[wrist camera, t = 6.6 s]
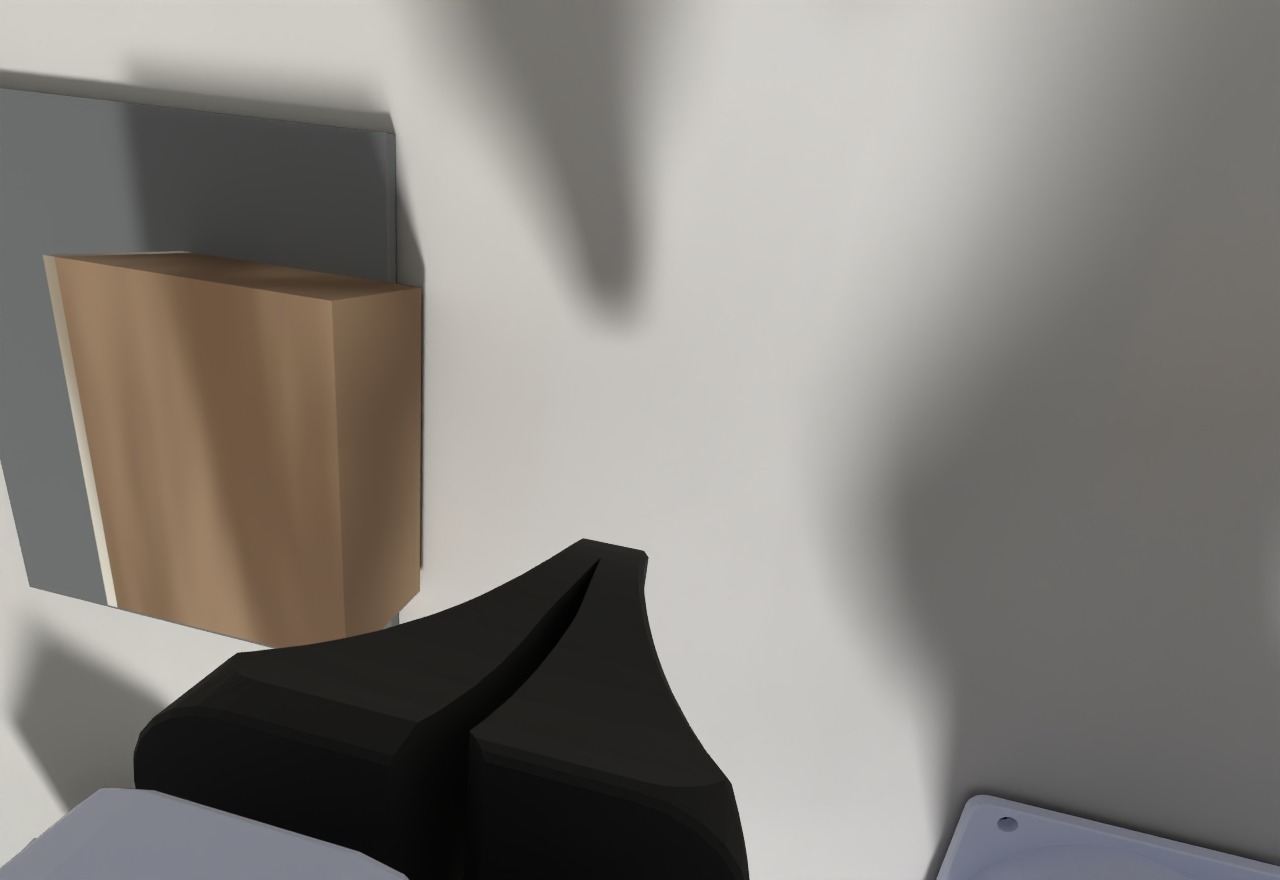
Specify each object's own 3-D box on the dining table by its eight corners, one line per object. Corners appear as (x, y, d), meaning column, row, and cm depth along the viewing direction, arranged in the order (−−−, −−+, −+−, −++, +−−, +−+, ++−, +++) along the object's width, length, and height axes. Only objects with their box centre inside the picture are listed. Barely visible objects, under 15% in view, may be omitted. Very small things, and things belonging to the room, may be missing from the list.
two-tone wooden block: (331, 301, 13) (42, 254, 14) (346, 664, 16) (108, 604, 17) (421, 287, 16) (182, 250, 17) (419, 591, 19) (216, 544, 20)
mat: (394, 135, 15) (385, 132, 15) (398, 670, 21) (392, 678, 20) (-70, 81, 17) (-89, 77, 17) (42, 580, 23) (30, 586, 22)
